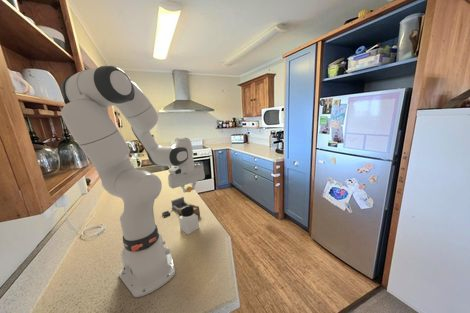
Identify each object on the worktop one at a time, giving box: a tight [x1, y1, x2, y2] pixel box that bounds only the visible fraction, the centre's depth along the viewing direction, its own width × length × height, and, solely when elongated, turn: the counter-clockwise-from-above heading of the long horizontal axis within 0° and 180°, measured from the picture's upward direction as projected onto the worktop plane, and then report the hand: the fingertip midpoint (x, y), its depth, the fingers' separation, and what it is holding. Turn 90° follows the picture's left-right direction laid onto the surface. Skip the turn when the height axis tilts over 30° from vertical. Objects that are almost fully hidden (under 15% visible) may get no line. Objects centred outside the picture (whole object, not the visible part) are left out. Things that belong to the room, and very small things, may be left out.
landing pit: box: [170, 196, 190, 214], centre depth 113 cm, size 10×8×5 cm
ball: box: [185, 186, 193, 193], centre depth 99 cm, size 3×3×3 cm
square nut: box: [161, 210, 171, 218], centre depth 106 cm, size 4×4×2 cm
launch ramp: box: [177, 203, 201, 218], centre depth 104 cm, size 12×8×6 cm, turn 40°
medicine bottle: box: [178, 206, 200, 235], centre depth 90 cm, size 7×7×12 cm
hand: (189, 190), depth 99 cm, fingers closed on ball, 3 cm apart
